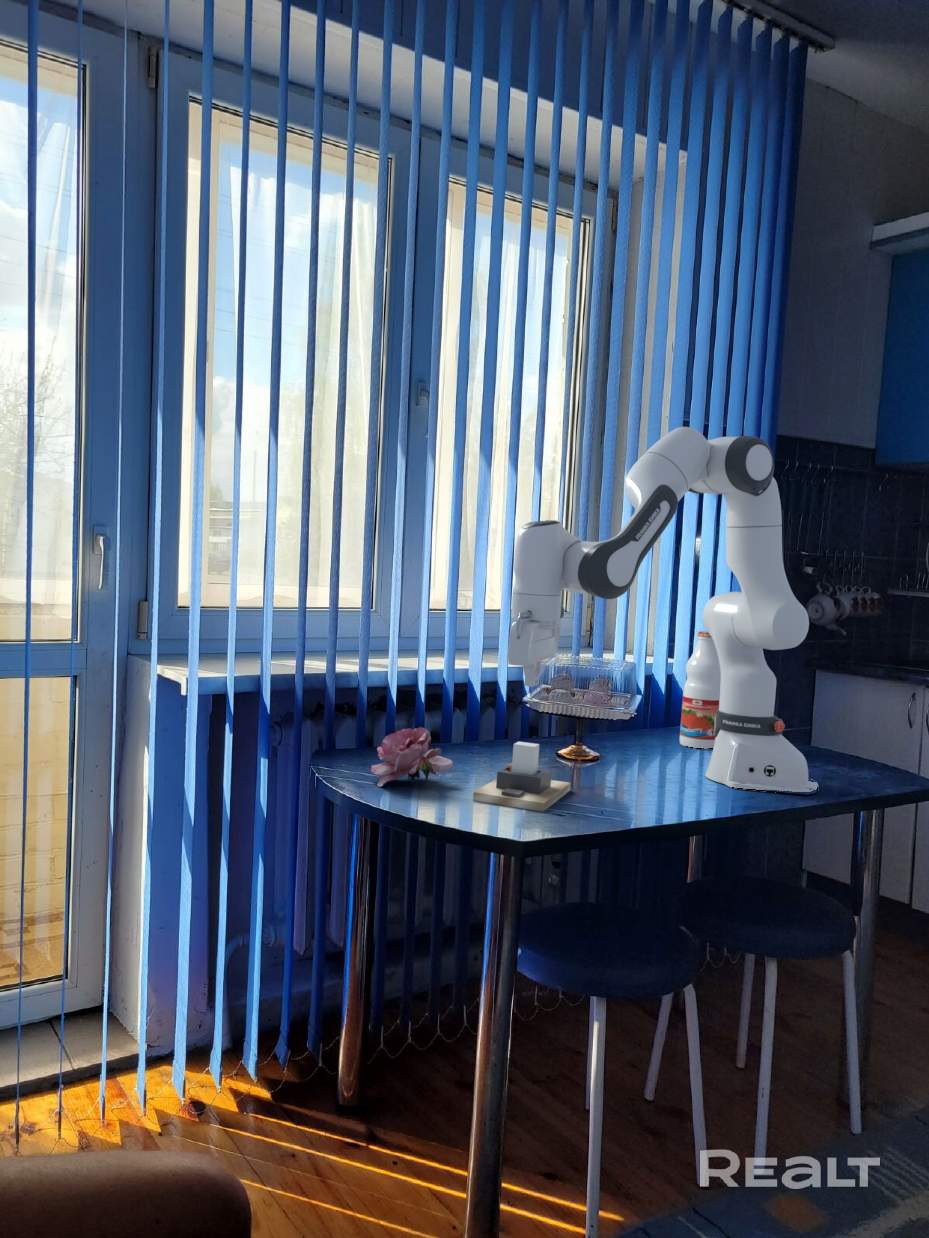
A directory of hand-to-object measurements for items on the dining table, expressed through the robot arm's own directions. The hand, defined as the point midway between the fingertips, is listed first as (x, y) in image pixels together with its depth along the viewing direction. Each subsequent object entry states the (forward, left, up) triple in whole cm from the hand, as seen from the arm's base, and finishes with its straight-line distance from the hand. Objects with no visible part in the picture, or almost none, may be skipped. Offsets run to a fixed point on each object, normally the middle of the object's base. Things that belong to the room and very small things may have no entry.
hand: (531, 685), depth 183 cm
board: (0, 0, -20) cm, 20 cm away
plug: (0, 0, -19) cm, 19 cm away
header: (0, 0, -19) cm, 19 cm away
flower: (+21, +4, -21) cm, 30 cm away
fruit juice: (-22, -74, -21) cm, 80 cm away
